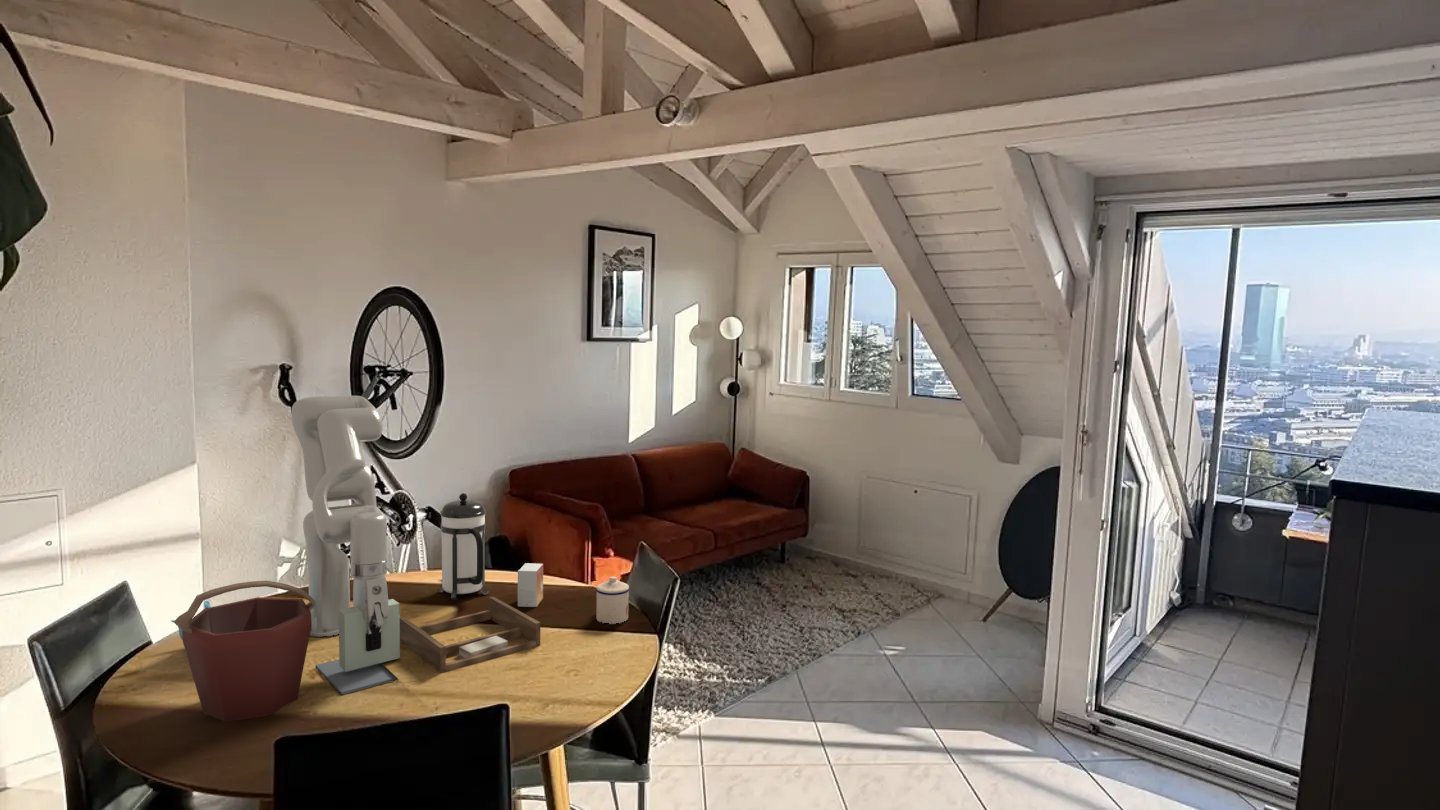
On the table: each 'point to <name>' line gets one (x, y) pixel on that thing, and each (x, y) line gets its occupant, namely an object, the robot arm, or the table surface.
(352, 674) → the mat
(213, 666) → the bucket
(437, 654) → the rack
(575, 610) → the table surface
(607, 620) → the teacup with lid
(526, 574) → the small box
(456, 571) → the coffee press
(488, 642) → the offcut upper
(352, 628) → the pale green block
